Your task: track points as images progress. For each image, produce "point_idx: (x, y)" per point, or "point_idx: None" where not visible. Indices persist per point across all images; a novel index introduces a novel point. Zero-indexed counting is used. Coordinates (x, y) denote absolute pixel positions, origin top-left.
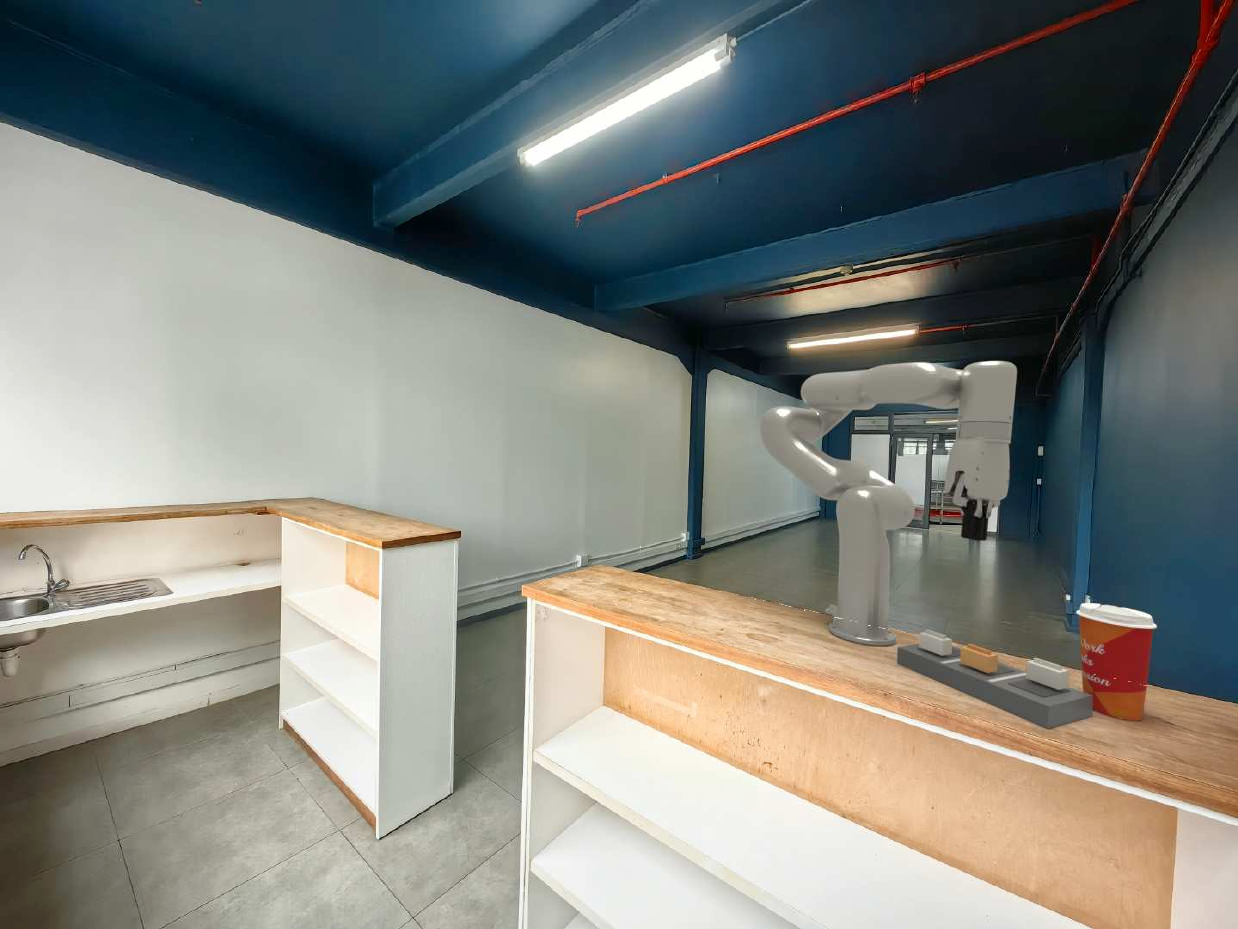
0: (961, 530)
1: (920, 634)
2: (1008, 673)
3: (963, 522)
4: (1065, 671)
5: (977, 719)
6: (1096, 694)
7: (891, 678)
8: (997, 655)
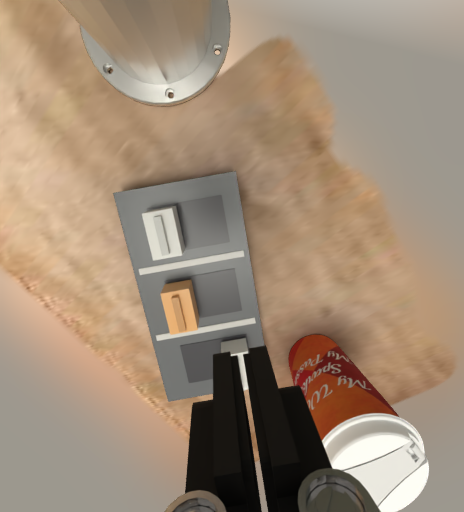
0: (213, 375)
1: (142, 216)
2: (220, 316)
3: (216, 426)
4: (245, 389)
5: (101, 358)
6: (291, 371)
7: (67, 244)
8: (197, 329)
